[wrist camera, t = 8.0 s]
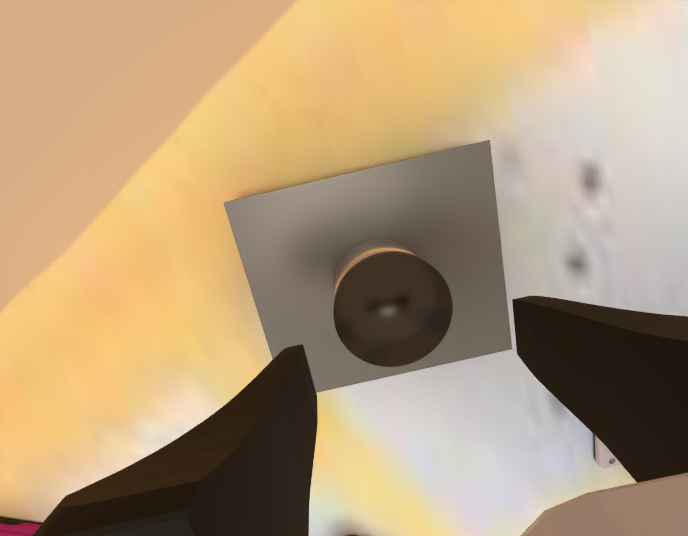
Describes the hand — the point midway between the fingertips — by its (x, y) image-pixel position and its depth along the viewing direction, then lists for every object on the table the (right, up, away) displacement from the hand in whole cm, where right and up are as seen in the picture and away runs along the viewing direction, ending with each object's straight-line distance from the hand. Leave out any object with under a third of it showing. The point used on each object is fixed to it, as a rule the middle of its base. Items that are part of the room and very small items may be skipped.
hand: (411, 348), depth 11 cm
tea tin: (0, +2, +8) cm, 8 cm away
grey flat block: (0, +3, +11) cm, 11 cm away
